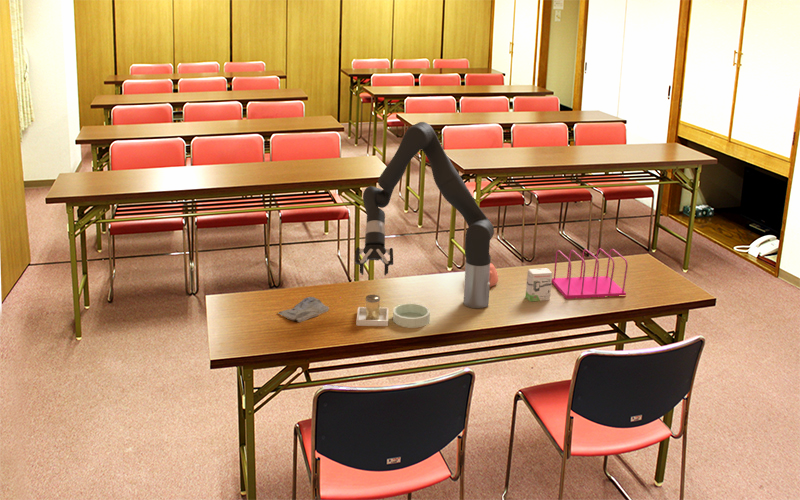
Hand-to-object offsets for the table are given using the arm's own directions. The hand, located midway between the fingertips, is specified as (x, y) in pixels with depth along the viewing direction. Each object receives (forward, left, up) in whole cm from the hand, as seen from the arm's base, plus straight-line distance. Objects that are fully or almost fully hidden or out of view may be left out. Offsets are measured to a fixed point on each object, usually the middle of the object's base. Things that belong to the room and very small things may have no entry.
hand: (373, 274), depth 264 cm
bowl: (-14, +10, -14) cm, 22 cm away
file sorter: (-86, -22, -14) cm, 90 cm away
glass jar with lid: (0, +10, -13) cm, 17 cm away
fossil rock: (+26, +3, -14) cm, 30 cm away
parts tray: (0, +10, -14) cm, 17 cm away
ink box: (-64, -12, -14) cm, 67 cm away
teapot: (-44, -28, -14) cm, 54 cm away
